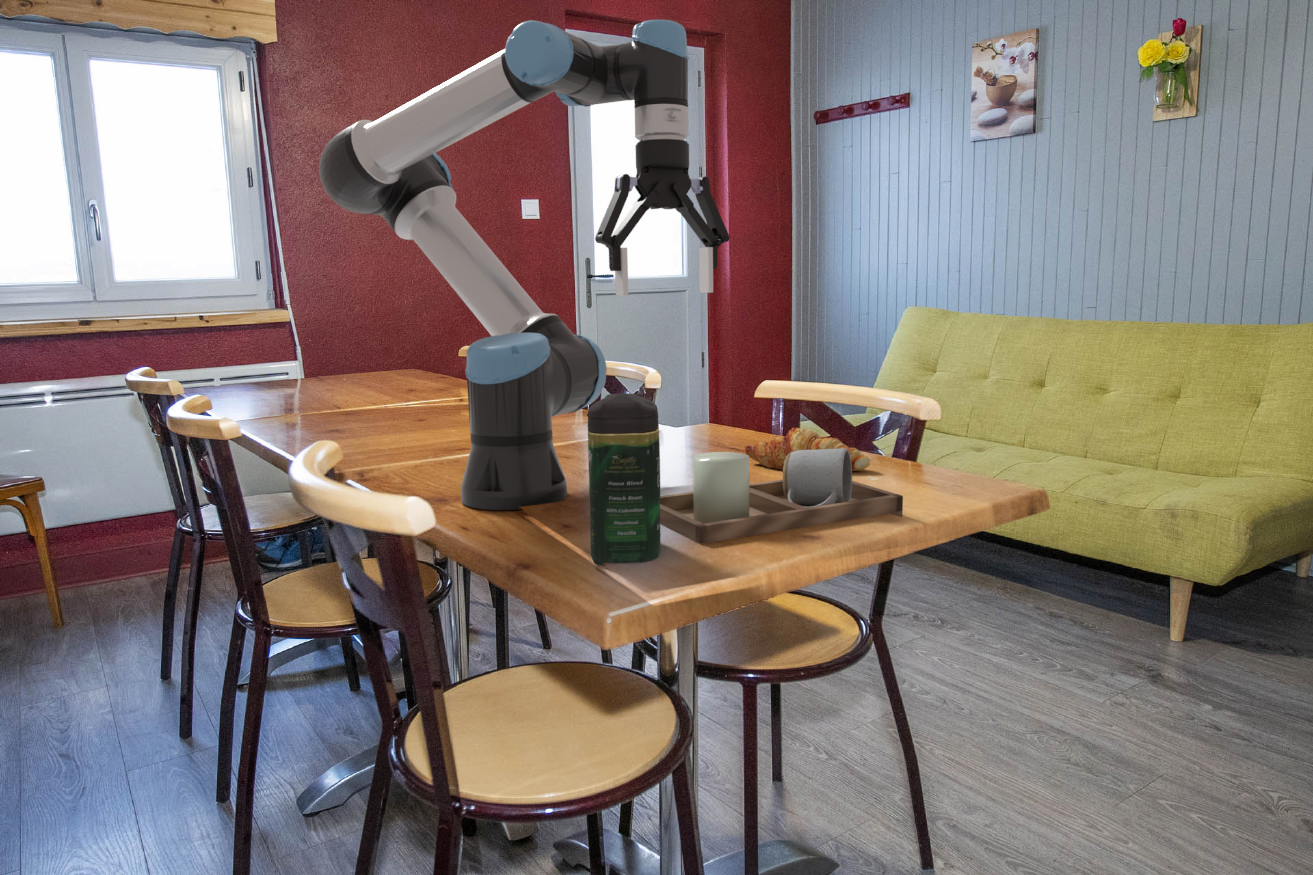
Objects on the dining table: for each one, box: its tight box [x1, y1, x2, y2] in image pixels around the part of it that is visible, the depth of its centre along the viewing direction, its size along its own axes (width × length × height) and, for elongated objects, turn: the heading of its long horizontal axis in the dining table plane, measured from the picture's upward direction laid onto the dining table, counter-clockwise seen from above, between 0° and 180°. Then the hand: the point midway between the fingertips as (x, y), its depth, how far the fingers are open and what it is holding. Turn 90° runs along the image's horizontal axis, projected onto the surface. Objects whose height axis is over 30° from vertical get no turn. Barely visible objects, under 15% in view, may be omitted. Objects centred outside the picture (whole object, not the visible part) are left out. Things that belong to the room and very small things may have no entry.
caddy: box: [660, 479, 904, 545], centre depth 120 cm, size 30×16×3 cm, turn 116°
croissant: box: [744, 427, 871, 472], centre depth 152 cm, size 21×10×8 cm, turn 64°
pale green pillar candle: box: [692, 451, 751, 524], centre depth 116 cm, size 7×7×8 cm
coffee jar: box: [586, 393, 662, 567], centre depth 103 cm, size 10×8×19 cm
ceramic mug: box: [782, 448, 853, 508], centre depth 121 cm, size 11×8×8 cm
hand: (665, 294), depth 134 cm, fingers open, 13 cm apart
